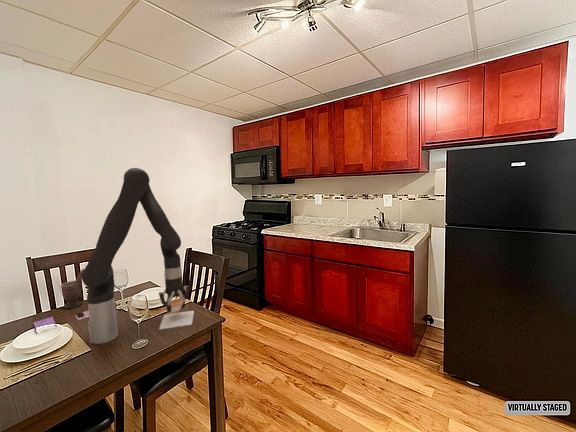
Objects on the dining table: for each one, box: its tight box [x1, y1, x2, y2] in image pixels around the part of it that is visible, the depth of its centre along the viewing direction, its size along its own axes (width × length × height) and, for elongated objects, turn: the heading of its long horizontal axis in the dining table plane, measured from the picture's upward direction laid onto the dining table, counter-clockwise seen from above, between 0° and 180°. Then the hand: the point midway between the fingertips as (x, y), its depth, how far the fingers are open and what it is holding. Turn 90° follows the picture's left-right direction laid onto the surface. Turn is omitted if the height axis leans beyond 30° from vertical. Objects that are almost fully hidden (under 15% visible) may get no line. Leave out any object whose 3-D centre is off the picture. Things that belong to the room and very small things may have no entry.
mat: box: [158, 310, 195, 331], centre depth 129 cm, size 14×14×1 cm
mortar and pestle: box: [60, 268, 85, 309], centre depth 147 cm, size 12×9×20 cm
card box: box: [167, 298, 183, 314], centre depth 129 cm, size 3×6×9 cm
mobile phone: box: [75, 310, 89, 320], centre depth 139 cm, size 8×1×15 cm
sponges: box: [33, 316, 56, 329], centre depth 126 cm, size 7×13×2 cm, turn 48°
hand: (176, 309), depth 129 cm, fingers closed on card box, 5 cm apart
